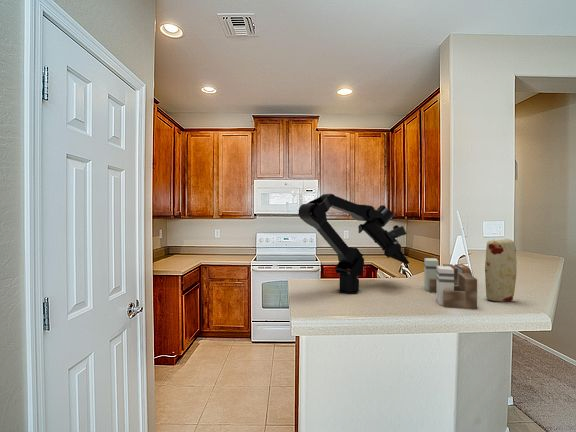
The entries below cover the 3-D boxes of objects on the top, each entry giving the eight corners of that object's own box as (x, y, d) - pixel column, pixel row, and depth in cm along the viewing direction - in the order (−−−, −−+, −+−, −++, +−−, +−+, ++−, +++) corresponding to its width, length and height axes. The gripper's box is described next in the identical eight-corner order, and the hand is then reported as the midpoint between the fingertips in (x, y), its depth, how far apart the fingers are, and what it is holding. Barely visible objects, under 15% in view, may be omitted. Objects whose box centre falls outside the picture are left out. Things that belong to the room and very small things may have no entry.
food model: (494, 304, 102) (494, 239, 102) (478, 298, 109) (479, 238, 108) (522, 303, 103) (522, 239, 103) (505, 297, 110) (505, 237, 110)
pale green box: (426, 291, 118) (426, 260, 118) (424, 287, 124) (424, 258, 124) (438, 291, 117) (438, 260, 117) (436, 287, 123) (436, 258, 123)
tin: (474, 292, 117) (474, 268, 117) (464, 292, 118) (464, 268, 118) (460, 283, 132) (460, 262, 132) (452, 283, 133) (452, 262, 132)
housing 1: (430, 293, 116) (430, 267, 116) (426, 287, 126) (426, 263, 125) (457, 295, 114) (457, 268, 114) (452, 288, 123) (452, 264, 123)
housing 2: (444, 308, 99) (444, 278, 99) (438, 299, 108) (438, 272, 108) (477, 310, 97) (477, 279, 96) (468, 301, 106) (468, 273, 106)
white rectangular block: (439, 305, 101) (439, 269, 101) (436, 299, 107) (436, 265, 107) (454, 306, 100) (454, 269, 100) (450, 300, 106) (450, 266, 106)
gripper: (394, 219, 115) (428, 251, 112) (391, 217, 133) (421, 245, 130) (371, 241, 117) (404, 273, 115) (371, 237, 135) (400, 264, 133)
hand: (408, 263), depth 123 cm, fingers closed
